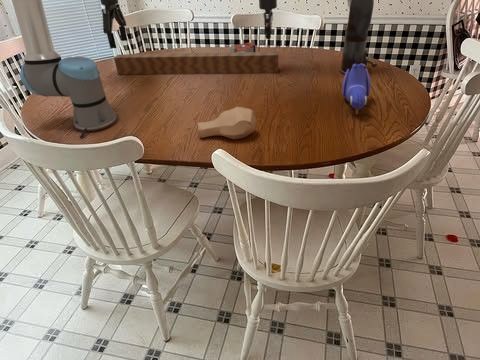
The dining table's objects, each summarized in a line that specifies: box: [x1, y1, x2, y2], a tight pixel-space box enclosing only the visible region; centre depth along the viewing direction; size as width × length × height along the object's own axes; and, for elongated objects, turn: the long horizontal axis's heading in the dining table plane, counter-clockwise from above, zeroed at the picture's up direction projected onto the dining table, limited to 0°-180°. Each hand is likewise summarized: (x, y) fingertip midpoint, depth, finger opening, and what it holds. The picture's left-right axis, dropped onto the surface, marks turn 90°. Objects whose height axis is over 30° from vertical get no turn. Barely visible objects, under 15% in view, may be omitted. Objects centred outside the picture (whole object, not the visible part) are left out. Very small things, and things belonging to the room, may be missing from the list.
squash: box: [197, 106, 257, 140], centre depth 118 cm, size 11×20×9 cm, turn 92°
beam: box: [113, 51, 280, 75], centre depth 170 cm, size 79×5×8 cm, turn 83°
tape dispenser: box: [230, 41, 256, 53], centre depth 185 cm, size 18×5×20 cm
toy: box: [341, 63, 371, 116], centre depth 129 cm, size 10×17×25 cm
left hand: (119, 44), depth 169 cm, fingers open, 13 cm apart
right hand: (268, 36), depth 159 cm, fingers open, 8 cm apart
